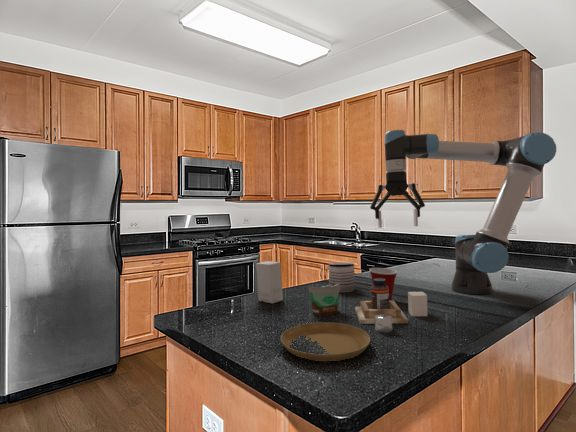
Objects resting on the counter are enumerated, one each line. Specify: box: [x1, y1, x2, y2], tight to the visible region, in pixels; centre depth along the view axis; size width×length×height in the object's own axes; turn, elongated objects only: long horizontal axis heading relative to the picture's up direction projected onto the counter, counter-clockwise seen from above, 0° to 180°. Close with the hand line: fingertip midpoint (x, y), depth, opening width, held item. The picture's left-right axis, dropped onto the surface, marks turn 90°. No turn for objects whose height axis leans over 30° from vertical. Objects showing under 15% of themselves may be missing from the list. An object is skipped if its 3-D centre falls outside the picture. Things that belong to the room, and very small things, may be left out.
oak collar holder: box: [354, 299, 409, 325], centre depth 127 cm, size 15×15×4 cm
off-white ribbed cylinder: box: [328, 262, 356, 293], centre depth 166 cm, size 11×11×12 cm
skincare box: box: [255, 260, 284, 304], centre depth 152 cm, size 8×7×16 cm
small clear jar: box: [374, 314, 393, 334], centre depth 114 cm, size 5×5×4 cm
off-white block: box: [407, 291, 428, 317], centre depth 128 cm, size 5×5×7 cm
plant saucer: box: [280, 322, 371, 362], centre depth 103 cm, size 24×24×3 cm
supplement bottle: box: [370, 278, 390, 309], centre depth 127 cm, size 6×6×11 cm
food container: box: [308, 282, 341, 317], centre depth 132 cm, size 12×6×10 cm, turn 117°
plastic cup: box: [369, 267, 399, 301], centre depth 146 cm, size 11×11×12 cm
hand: (397, 226), depth 145 cm, fingers open, 13 cm apart
